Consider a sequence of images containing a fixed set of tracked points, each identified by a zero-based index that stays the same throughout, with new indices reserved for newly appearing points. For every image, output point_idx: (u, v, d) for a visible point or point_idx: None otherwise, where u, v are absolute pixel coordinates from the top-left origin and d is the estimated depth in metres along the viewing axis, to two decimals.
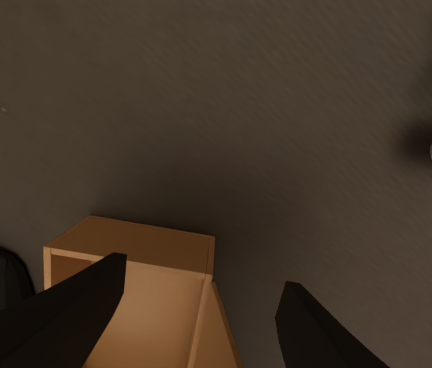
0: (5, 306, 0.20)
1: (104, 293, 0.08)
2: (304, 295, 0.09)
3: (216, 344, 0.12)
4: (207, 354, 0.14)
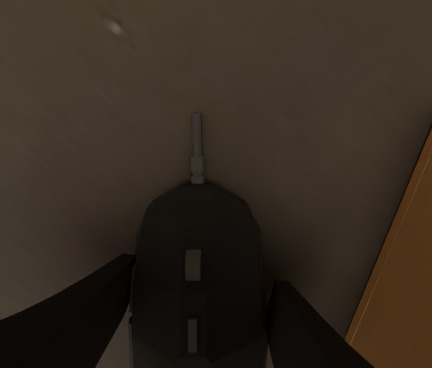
0: (259, 308, 0.09)
1: (115, 295, 0.08)
2: (291, 293, 0.09)
3: None
4: None
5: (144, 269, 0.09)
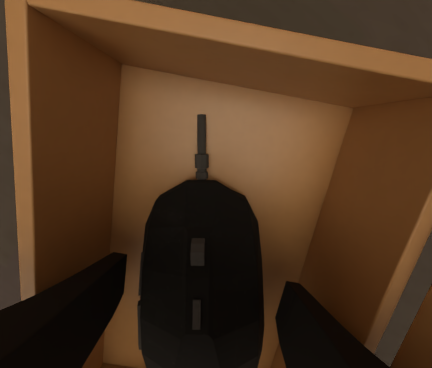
0: (257, 293, 0.10)
1: (104, 293, 0.08)
2: (304, 295, 0.09)
3: None
4: None
5: (152, 256, 0.10)
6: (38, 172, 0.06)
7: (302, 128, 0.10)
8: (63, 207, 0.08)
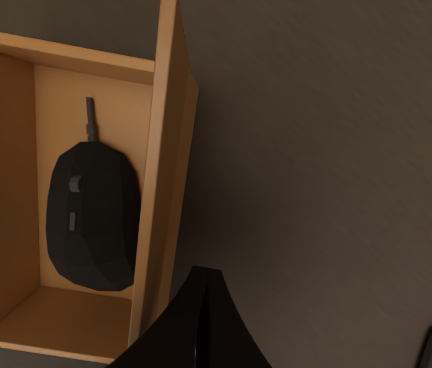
0: (122, 214, 0.15)
1: (201, 309, 0.08)
2: (214, 280, 0.09)
3: None
4: None
5: (53, 190, 0.15)
6: None
7: None
8: None
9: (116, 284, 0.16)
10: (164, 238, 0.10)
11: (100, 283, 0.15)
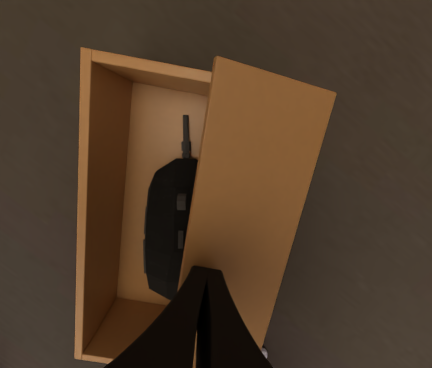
0: None
1: (200, 309, 0.08)
2: (215, 280, 0.09)
3: None
4: None
5: (153, 207, 0.15)
6: (90, 146, 0.11)
7: None
8: (100, 170, 0.13)
9: None
10: (267, 246, 0.11)
11: None
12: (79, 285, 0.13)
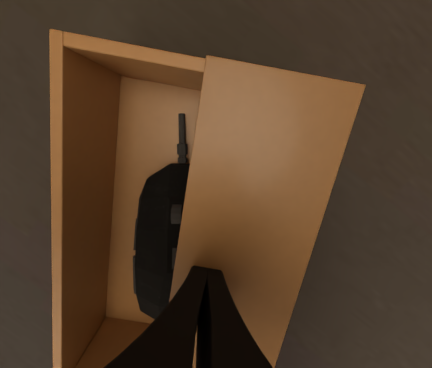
0: None
1: (200, 309, 0.08)
2: (215, 280, 0.09)
3: None
4: None
5: (144, 219, 0.13)
6: (65, 151, 0.09)
7: None
8: (79, 178, 0.11)
9: None
10: (271, 263, 0.09)
11: None
12: (56, 312, 0.11)
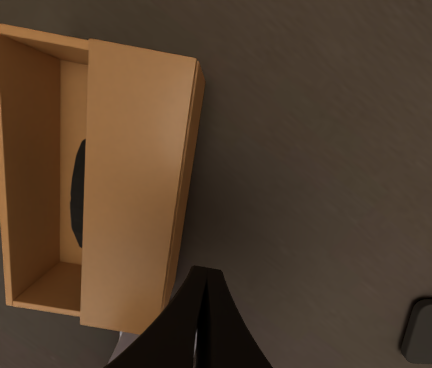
0: None
1: (200, 309, 0.08)
2: (215, 280, 0.09)
3: None
4: None
5: (77, 170, 0.17)
6: (4, 108, 0.13)
7: None
8: (20, 133, 0.14)
9: None
10: (152, 189, 0.13)
11: None
12: (4, 235, 0.15)
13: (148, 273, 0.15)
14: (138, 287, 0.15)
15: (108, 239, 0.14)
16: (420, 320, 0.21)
